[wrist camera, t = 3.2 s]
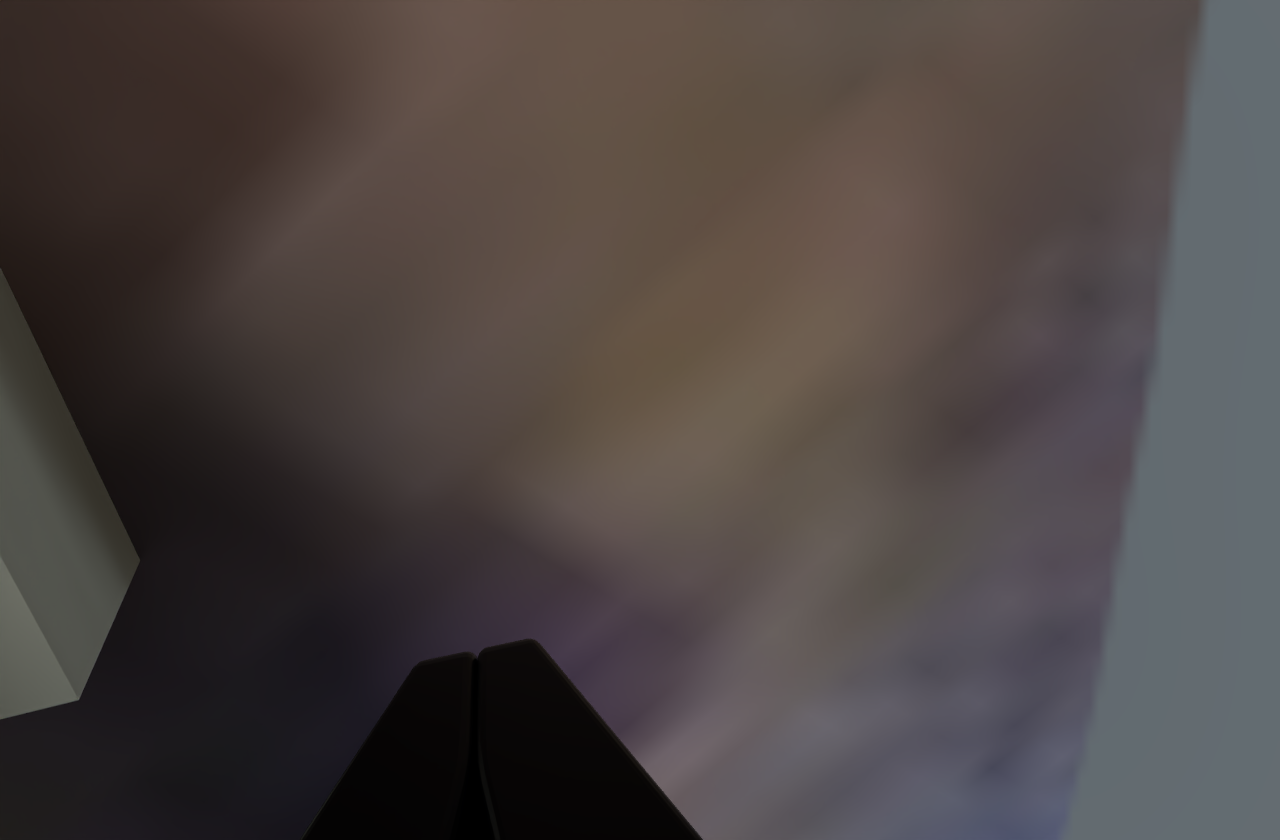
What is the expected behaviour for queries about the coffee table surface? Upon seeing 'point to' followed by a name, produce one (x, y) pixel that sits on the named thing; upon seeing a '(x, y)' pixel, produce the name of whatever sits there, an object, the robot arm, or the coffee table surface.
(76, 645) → the tile
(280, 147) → the coffee table surface
